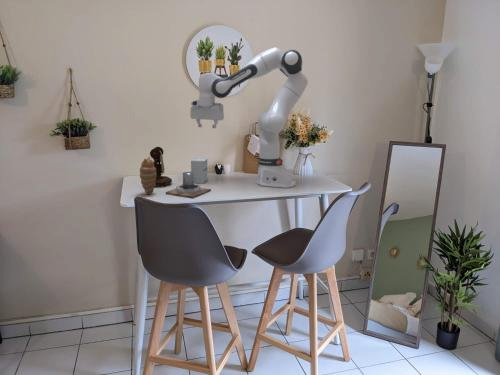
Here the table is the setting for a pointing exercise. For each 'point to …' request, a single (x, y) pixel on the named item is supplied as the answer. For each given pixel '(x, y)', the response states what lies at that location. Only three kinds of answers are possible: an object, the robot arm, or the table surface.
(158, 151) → the dark brown tall piece
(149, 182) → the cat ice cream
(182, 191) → the ring board
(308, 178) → the table surface
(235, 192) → the table surface
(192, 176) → the piston
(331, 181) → the table surface
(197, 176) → the supplement box
